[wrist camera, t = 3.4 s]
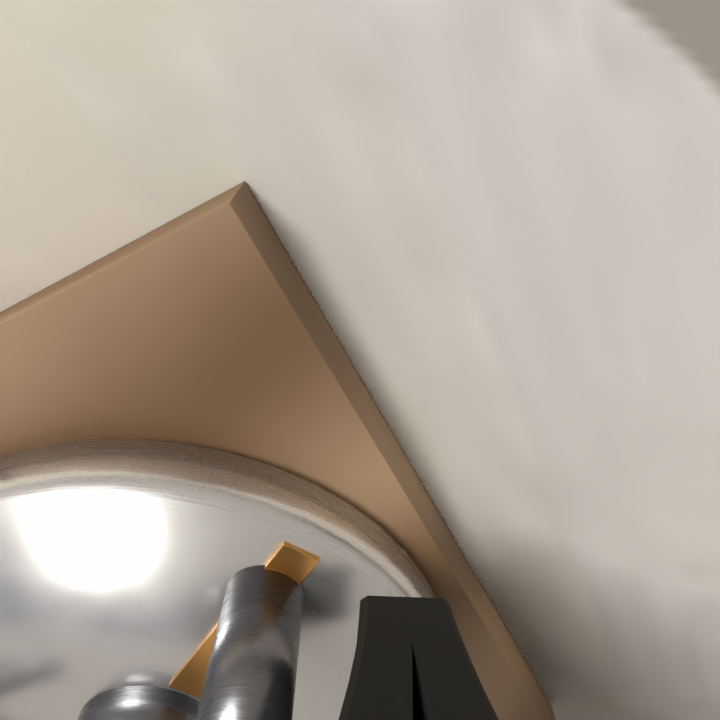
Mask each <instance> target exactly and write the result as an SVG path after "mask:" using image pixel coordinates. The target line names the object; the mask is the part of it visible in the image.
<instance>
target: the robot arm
mask: <svg viewBox="0 0 720 720" xmlns="http://www.w3.org/2000/svg"><path fill="white" fill-rule="evenodd" d="M339 720H499V719H498V717H497V715H496V713H495V711H494V709H493V707H492V705H491V703H490V701H489V699H488V697H487V695H486V693H485V691H484V688H483V686H482V684H481V682H480V680H479V677H478V675H477V673H476V671H475V668H474V666H473V664H472V662H471V659H470V657H469V654H468V652H467V650H466V647H465V645H464V642H463V640H462V637H461V635H460V632H459V630H458V627H457V624H456V622H455V619H454V616H453V613H452V610H451V607H450V604H449V603H448V602H447V601H446V600H445V599H444V598H421V597H394V596H366V597H365V598H363V599H361V600H360V609H359V621H358V633H357V644H356V650H355V655H354V660H353V665H352V669H351V674H350V678H349V683H348V687H347V690H346V694H345V698H344V701H343V705H342V709H341V712H340V716H339Z"/></svg>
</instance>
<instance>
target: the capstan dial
mask: <svg viewBox="0 0 720 720" xmlns="http://www.w3.org/2000/svg"><path fill="white" fill-rule="evenodd" d="M366 596H394V597H421V598H435V596H434V594H433V592H432V590H431V588H430V586H429V584H428V582H427V581H426V579H425V577H424V575H423V574H422V573H421V571H420V570H419V569H418V568H417V566H416V565H415V564H414V562H413V561H412V560H411V558H410V557H409V556H408V554H407V553H406V552H405V551H404V550H403V549H402V548H401V547H400V546H399V545H398V544H397V543H396V542H395V541H394V540H393V539H392V538H391V537H390V536H389V535H388V534H387V533H386V532H385V531H384V530H383V529H382V528H381V527H380V526H378V525H377V524H376V523H374V522H373V521H372V520H370V519H369V518H368V517H366V516H365V515H364V514H362V513H361V512H360V511H358V510H357V509H355V508H354V507H353V506H351V505H350V504H349V503H347V502H345V501H343V500H342V499H340V498H338V497H336V496H335V495H333V494H331V493H329V492H328V491H326V490H324V489H322V488H321V487H319V486H317V485H315V484H313V483H311V482H309V481H306V480H304V479H302V478H300V477H297V476H295V475H293V474H290V473H288V472H286V471H283V470H281V469H279V468H276V467H274V466H271V465H268V464H265V463H261V462H258V461H255V460H252V459H249V458H245V457H242V456H239V455H236V454H232V453H229V452H224V451H219V450H214V449H209V448H204V447H199V446H194V445H189V444H184V443H174V442H163V441H153V440H143V439H90V440H81V441H73V442H65V443H56V444H48V445H43V446H39V447H35V448H31V449H27V450H23V451H18V452H14V453H10V454H6V455H3V456H1V457H0V720H339V716H340V712H341V709H342V705H343V701H344V698H345V694H346V690H347V687H348V683H349V678H350V674H351V669H352V665H353V660H354V655H355V650H356V644H357V633H358V621H359V609H360V600H361V599H363V598H365V597H366Z"/></svg>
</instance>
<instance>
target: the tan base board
mask: <svg viewBox="0 0 720 720" xmlns="http://www.w3.org/2000/svg"><path fill="white" fill-rule="evenodd" d="M90 439H143V440H153V441H163V442H174V443H184V444H189V445H194V446H199V447H204V448H209V449H214V450H219V451H224V452H229V453H232V454H236V455H239V456H242V457H245V458H249V459H252V460H255V461H258V462H261V463H265V464H268V465H271V466H274V467H276V468H279V469H281V470H283V471H286V472H288V473H290V474H293V475H295V476H297V477H300V478H302V479H304V480H306V481H309V482H311V483H313V484H315V485H317V486H319V487H321V488H322V489H324V490H326V491H328V492H329V493H331V494H333V495H335V496H336V497H338V498H340V499H342V500H343V501H345V502H347V503H349V504H350V505H351V506H353V507H354V508H355V509H357V510H358V511H360V512H361V513H362V514H364V515H365V516H366V517H368V518H369V519H370V520H372V521H373V522H374V523H376V524H377V525H378V526H380V527H381V528H382V529H383V530H384V531H385V532H386V533H387V534H388V535H389V536H390V537H391V538H392V539H393V540H394V541H395V542H396V543H397V544H398V545H399V546H400V547H401V548H402V549H403V550H404V551H405V552H406V553H407V554H408V556H409V557H410V558H411V560H412V561H413V562H414V564H415V565H416V566H417V568H418V569H419V570H420V571H421V573H422V574H423V575H424V577H425V579H426V581H427V582H428V584H429V586H430V588H431V590H432V592H433V594H434V596H435V598H444V599H445V600H446V601H447V602H448V603H449V604H450V607H451V610H452V613H453V616H454V619H455V622H456V624H457V627H458V630H459V632H460V635H461V637H462V640H463V642H464V645H465V647H466V650H467V652H468V654H469V657H470V659H471V662H472V664H473V666H474V668H475V671H476V673H477V675H478V677H479V680H480V682H481V684H482V686H483V688H484V691H485V693H486V695H487V697H488V699H489V701H490V703H491V705H492V707H493V709H494V711H495V713H496V715H497V717H498V719H499V720H555V718H554V714H553V710H552V707H551V704H550V703H549V701H548V699H547V697H546V696H545V694H544V692H543V691H542V689H541V687H540V685H539V684H538V682H537V680H536V679H535V677H534V675H533V673H532V672H531V670H530V668H529V667H528V665H527V663H526V661H525V660H524V658H523V656H522V655H521V653H520V651H519V649H518V648H517V646H516V644H515V643H514V641H513V639H512V637H511V636H510V634H509V632H508V631H507V629H506V627H505V625H504V624H503V622H502V620H501V619H500V617H499V615H498V613H497V612H496V610H495V608H494V607H493V605H492V603H491V601H490V600H489V598H488V596H487V595H486V593H485V591H484V589H483V588H482V586H481V584H480V583H479V581H478V579H477V577H476V576H475V574H474V572H473V571H472V569H471V567H470V565H469V564H468V562H467V560H466V559H465V557H464V555H463V554H462V552H461V550H460V548H459V547H458V545H457V543H456V542H455V540H454V538H453V536H452V535H451V533H450V531H449V530H448V528H447V526H446V524H445V523H444V521H443V519H442V518H441V516H440V514H439V512H438V511H437V509H436V507H435V506H434V504H433V502H432V500H431V499H430V497H429V495H428V494H427V492H426V490H425V488H424V487H423V485H422V483H421V482H420V480H419V478H418V476H417V475H416V473H415V471H414V470H413V468H412V466H411V464H410V463H409V461H408V459H407V458H406V456H405V454H404V452H403V451H402V449H401V447H400V446H399V444H398V442H397V440H396V439H395V437H394V435H393V434H392V432H391V430H390V428H389V427H388V425H387V423H386V422H385V420H384V418H383V416H382V415H381V413H380V411H379V410H378V408H377V406H376V404H375V403H374V401H373V399H372V398H371V396H370V394H369V393H368V391H367V389H366V387H365V386H364V384H363V382H362V381H361V379H360V377H359V375H358V374H357V372H356V370H355V369H354V367H353V365H352V363H351V362H350V360H349V358H348V357H347V355H346V353H345V351H344V350H343V348H342V346H341V345H340V343H339V341H338V339H337V338H336V336H335V334H334V333H333V331H332V329H331V327H330V326H329V324H328V322H327V321H326V319H325V317H324V315H323V314H322V312H321V310H320V309H319V307H318V305H317V303H316V302H315V300H314V298H313V297H312V295H311V293H310V291H309V290H308V288H307V286H306V285H305V283H304V281H303V279H302V278H301V276H300V274H299V273H298V271H297V269H296V267H295V266H294V264H293V262H292V261H291V259H290V257H289V255H288V254H287V252H286V250H285V249H284V247H283V245H282V243H281V242H280V240H279V238H278V237H277V235H276V233H275V231H274V230H273V228H272V226H271V225H270V223H269V221H268V220H267V218H266V216H265V214H264V213H263V211H262V209H261V208H260V206H259V204H258V202H257V201H256V199H255V197H254V196H253V194H252V192H251V190H250V189H249V187H248V185H247V184H246V182H245V181H244V182H243V183H241V184H239V185H237V186H235V187H233V188H231V189H229V190H228V191H226V192H224V193H222V194H220V195H218V196H216V197H215V198H213V199H211V200H209V201H207V202H205V203H203V204H202V205H200V206H198V207H196V208H194V209H192V210H190V211H188V212H187V213H185V214H183V215H181V216H179V217H177V218H175V219H174V220H172V221H170V222H168V223H166V224H164V225H162V226H161V227H159V228H157V229H155V230H153V231H151V232H149V233H147V234H146V235H144V236H142V237H140V238H138V239H136V240H134V241H133V242H131V243H129V244H127V245H125V246H123V247H121V248H120V249H118V250H116V251H114V252H112V253H110V254H108V255H106V256H105V257H103V258H101V259H99V260H97V261H95V262H93V263H92V264H90V265H88V266H86V267H84V268H82V269H80V270H79V271H77V272H75V273H73V274H71V275H69V276H67V277H66V278H64V279H62V280H60V281H58V282H56V283H54V284H52V285H51V286H49V287H47V288H45V289H43V290H41V291H39V292H38V293H36V294H34V295H32V296H30V297H28V298H26V299H25V300H23V301H21V302H19V303H17V304H15V305H13V306H11V307H10V308H8V309H6V310H4V311H2V312H0V457H1V456H3V455H6V454H10V453H14V452H18V451H23V450H27V449H31V448H35V447H39V446H43V445H48V444H56V443H65V442H73V441H81V440H90Z"/></svg>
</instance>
